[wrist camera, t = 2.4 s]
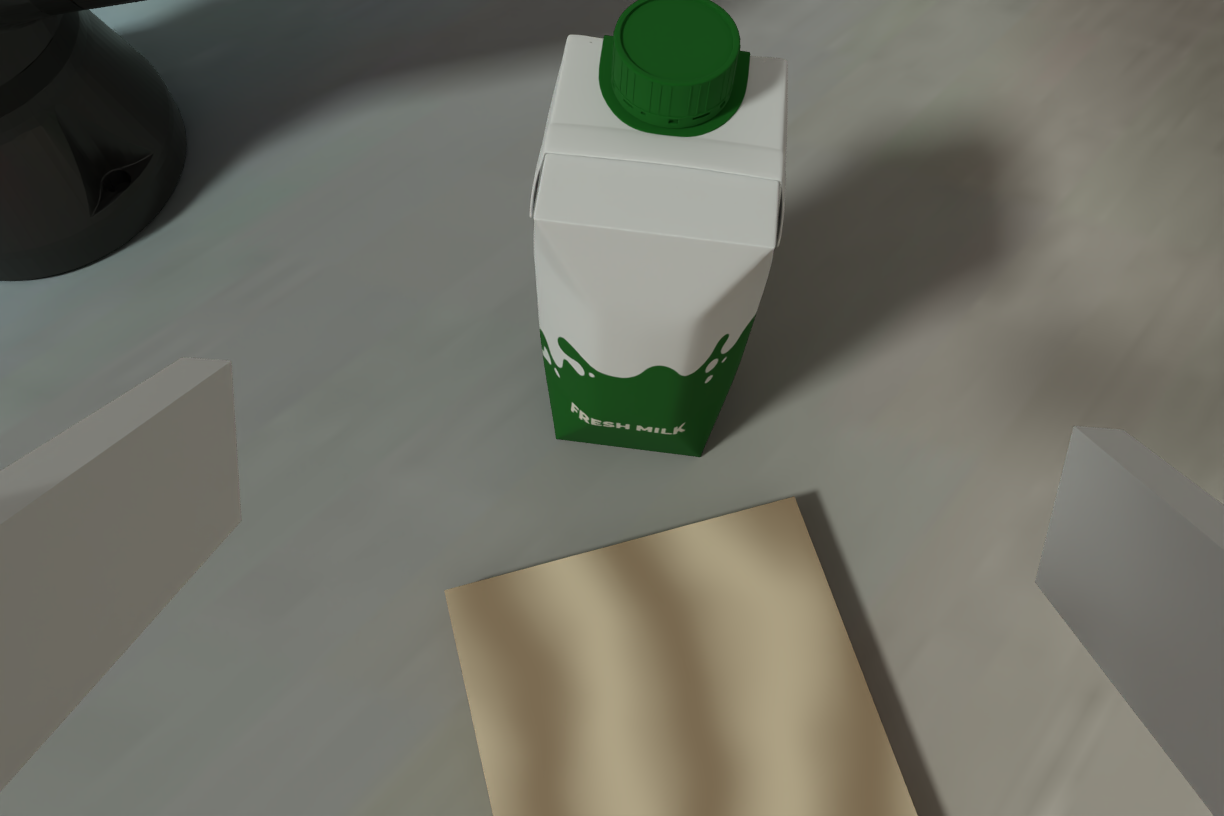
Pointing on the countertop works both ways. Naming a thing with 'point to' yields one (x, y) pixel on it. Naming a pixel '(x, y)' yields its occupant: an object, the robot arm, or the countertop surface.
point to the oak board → (675, 680)
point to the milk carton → (655, 223)
